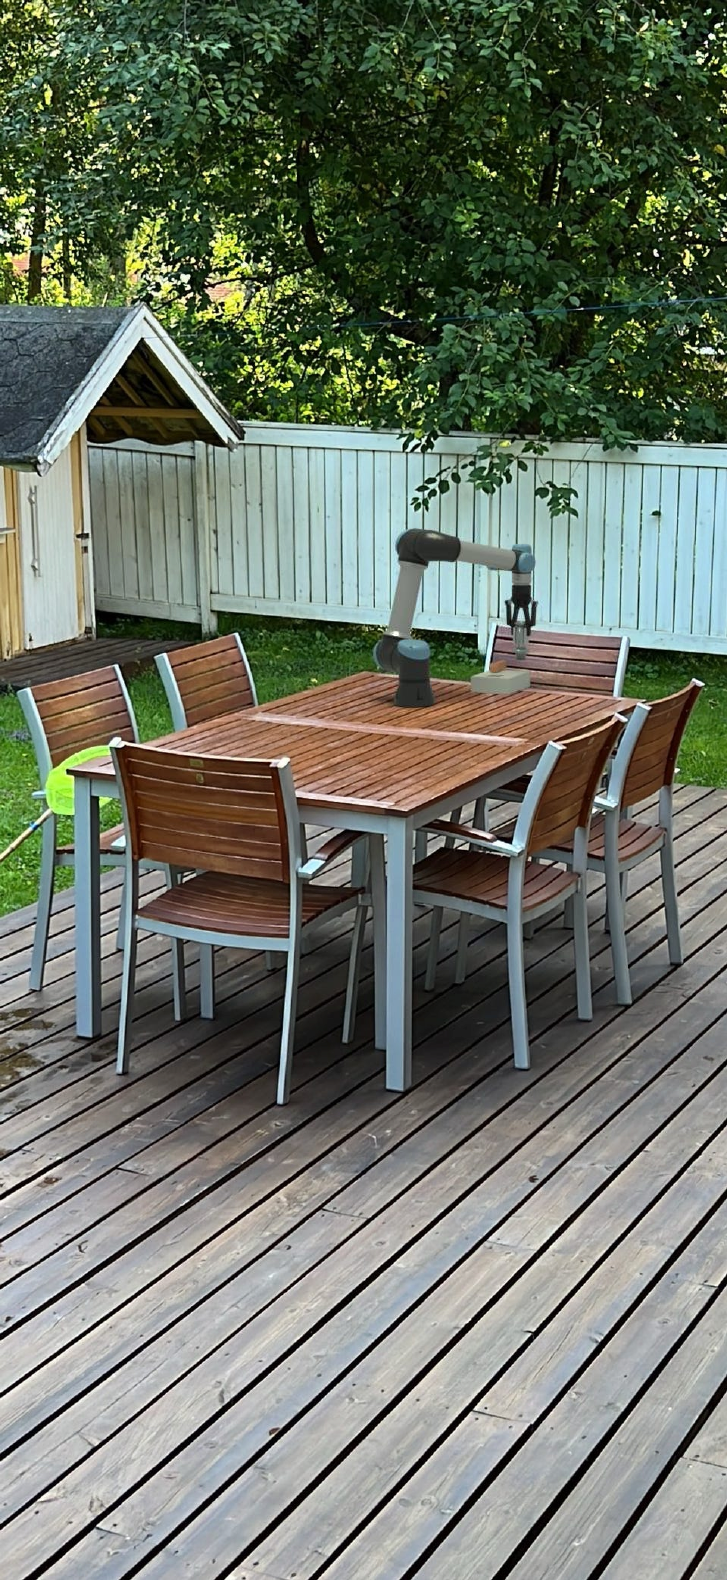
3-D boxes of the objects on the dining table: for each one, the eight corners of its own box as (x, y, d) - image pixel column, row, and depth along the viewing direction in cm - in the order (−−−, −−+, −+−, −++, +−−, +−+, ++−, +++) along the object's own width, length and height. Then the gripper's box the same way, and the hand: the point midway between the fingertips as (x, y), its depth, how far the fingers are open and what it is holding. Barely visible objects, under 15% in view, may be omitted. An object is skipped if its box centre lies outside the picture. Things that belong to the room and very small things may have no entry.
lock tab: (496, 672, 694) (496, 664, 694) (488, 671, 696) (488, 664, 696) (508, 668, 704) (508, 660, 704) (500, 667, 706) (500, 660, 705)
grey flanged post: (509, 660, 703) (509, 621, 700) (516, 658, 709) (516, 620, 706) (525, 661, 700) (525, 622, 697) (532, 659, 706) (532, 621, 703)
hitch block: (470, 692, 689) (470, 676, 688) (492, 684, 706) (492, 669, 705) (509, 694, 681) (509, 678, 680) (530, 686, 699) (529, 671, 697)
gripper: (497, 584, 699) (497, 643, 704) (538, 585, 691) (537, 646, 696) (505, 582, 706) (504, 641, 710) (545, 584, 698) (544, 644, 702)
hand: (520, 643), depth 703 cm, fingers closed on grey flanged post, 4 cm apart
